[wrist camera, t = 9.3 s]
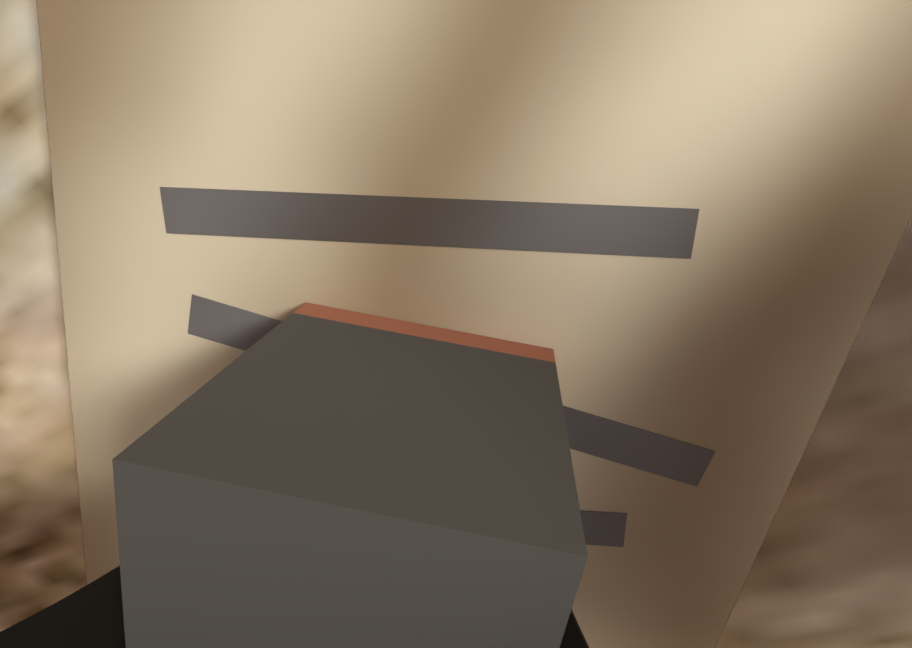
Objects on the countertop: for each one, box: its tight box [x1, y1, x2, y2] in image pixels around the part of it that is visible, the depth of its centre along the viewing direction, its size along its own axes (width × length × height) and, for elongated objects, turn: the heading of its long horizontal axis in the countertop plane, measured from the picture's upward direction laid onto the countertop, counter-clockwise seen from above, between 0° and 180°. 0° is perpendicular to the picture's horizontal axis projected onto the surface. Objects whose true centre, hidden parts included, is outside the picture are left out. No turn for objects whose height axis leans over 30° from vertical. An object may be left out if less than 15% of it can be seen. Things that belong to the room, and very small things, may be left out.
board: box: [37, 0, 912, 648], centre depth 10 cm, size 14×20×1 cm
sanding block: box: [112, 302, 588, 648], centre depth 9 cm, size 4×8×5 cm, turn 171°
